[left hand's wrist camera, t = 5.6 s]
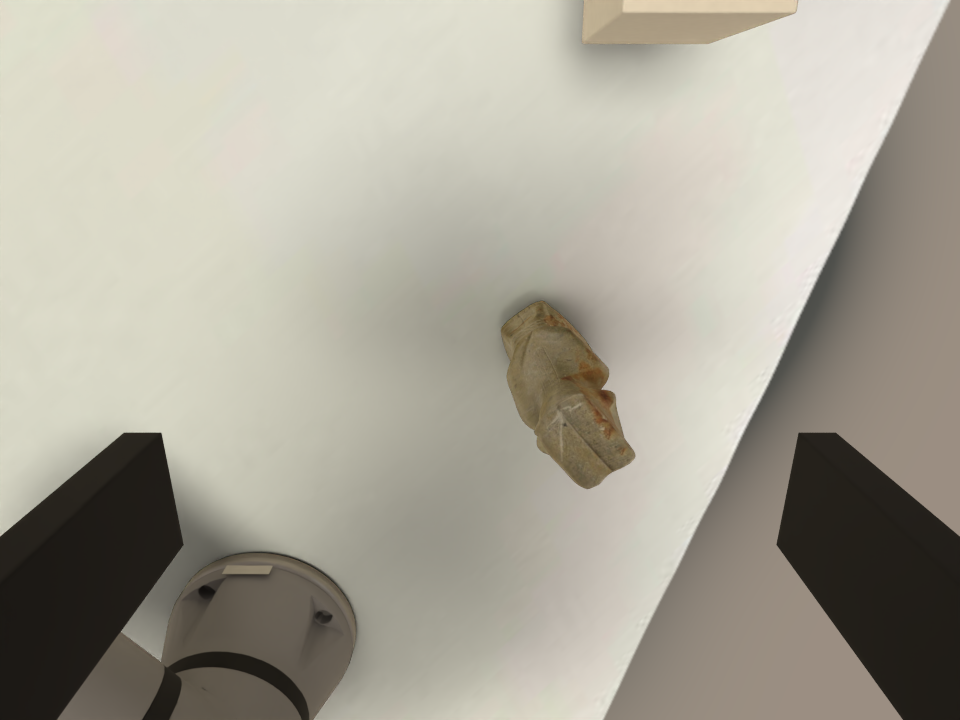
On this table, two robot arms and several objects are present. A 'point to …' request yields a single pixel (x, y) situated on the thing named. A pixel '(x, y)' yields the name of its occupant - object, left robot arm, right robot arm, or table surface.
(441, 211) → the table surface
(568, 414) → the sculpture
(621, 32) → the box
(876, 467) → the left robot arm
